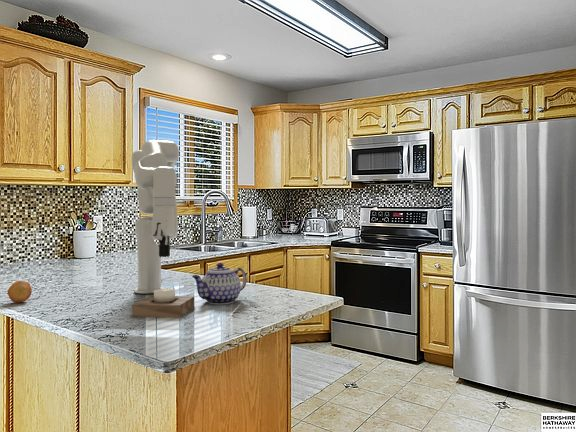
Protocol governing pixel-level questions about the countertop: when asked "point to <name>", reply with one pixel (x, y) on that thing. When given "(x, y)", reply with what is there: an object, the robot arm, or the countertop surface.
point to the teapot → (220, 285)
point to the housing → (163, 307)
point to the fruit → (19, 291)
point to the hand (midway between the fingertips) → (164, 256)
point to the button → (164, 295)
